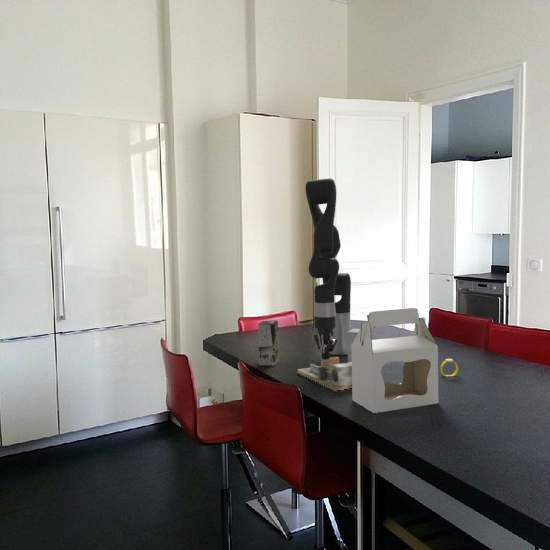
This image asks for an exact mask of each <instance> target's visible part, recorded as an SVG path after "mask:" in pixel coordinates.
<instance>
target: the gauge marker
mask: <svg viewBox="0 0 550 550" xmlns="http://www.w3.org/2000/svg"><path fill="white" fill-rule="evenodd" d="M319 378H320V379H323V378H327V377H326V367H321V368H319Z"/></svg>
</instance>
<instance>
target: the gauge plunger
mask: <svg viewBox="0 0 550 550" xmlns="http://www.w3.org/2000/svg"><path fill="white" fill-rule="evenodd" d="M339 363H340V357H338V356H333V357H332V356H331V357H329V358H324V359H322V358H320V365H319V366H320V367H317V369H318V370H319V368H321V367H326V370H328V371H330V372H332V365H336V364H339Z"/></svg>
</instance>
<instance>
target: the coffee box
mask: <svg viewBox="0 0 550 550" xmlns="http://www.w3.org/2000/svg"><path fill="white" fill-rule="evenodd" d="M257 327H258V328H257V334H258V338H257V339H258V341H257V342H258V365H259V366H271V367H272V366H276V364H277V363H278V362H279V361H280V353H279V346H280V345H279V321H278V320H262V321H260V322H259V323H258V324H257Z"/></svg>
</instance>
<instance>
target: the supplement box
mask: <svg viewBox="0 0 550 550" xmlns="http://www.w3.org/2000/svg"><path fill="white" fill-rule="evenodd" d="M360 329H361V328H352V329H351V330H350V331H348V332H347V343H348V354H347V363H349V362H352V351H351V345H352V343H353V341H354V339H355V338H356V336H357V334H358V332H359V331H360Z"/></svg>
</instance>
